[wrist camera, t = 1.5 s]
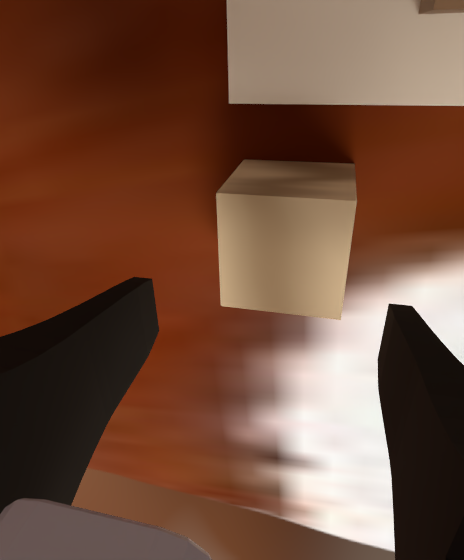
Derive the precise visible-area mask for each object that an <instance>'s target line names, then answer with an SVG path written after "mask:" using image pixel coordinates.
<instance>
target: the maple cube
mask: <svg viewBox="0 0 464 560" xmlns="http://www.w3.org/2000/svg"><path fill="white" fill-rule="evenodd" d="M216 201H217V225H218V249H219V273H220V297H221V306H226V307H235V308H243V309H252V310H260V311H269V312H277V313H286V314H295V315H303V316H312V317H320V318H329V319H337V320H341V313H342V306H343V299H344V291H345V284H346V277H347V269H348V262H349V255H350V247H351V240H352V232H353V225H354V218H355V210H356V203H357V196H356V178H355V164H350V163H324V162H298V161H272V160H247V159H244V160H243V161H242V163H241V164H240V165H239V166H238V167H237V169H236V170H235V171H234V172H233V173H232V175H231V176H230V177H229V178H228V179H227V181H226V182H225V183H224V184H223V185H222V187H221V188H220V189H219V190H218V191H217V193H216Z"/></svg>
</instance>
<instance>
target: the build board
mask: <svg viewBox="0 0 464 560" xmlns="http://www.w3.org/2000/svg"><path fill="white" fill-rule="evenodd" d="M227 39H228V82H229V104H321V105H429V106H464V0H227Z"/></svg>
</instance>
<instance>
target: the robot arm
mask: <svg viewBox="0 0 464 560" xmlns="http://www.w3.org/2000/svg"><path fill="white" fill-rule="evenodd" d="M158 332H159V326H158V319H157V312H156V304H155V297H154V290H153V283H152V279H148V278H139V277H133V278H131V279H128V280H126V281H124V282H122V283H120V284H118V285H116V286H114V287H112V288H110V289H108V290H107V291H105V292H103V293H101V294H99V295H97V296H95V297H93V298H91V299H89V300H87V301H86V302H84V303H82V304H80V305H78V306H75V307H73V308H71V309H69V310H67V311H65V312H63V313H61V314H59V315H57V316H55V317H52V318H50V319H48V320H46V321H43V322H41V323H38V324H36V325H33V326H31V327H28V328H25V329H23V330H20V331H17V332H14V333H11V334H8V335H5V336H2V337H0V560H212V559H211V557H210V555H209V554H208V553H207V552H206V551H205V550H204V549H202V548H201V547H200V546H198V545H197V544H196V543H194V542H193V541H192V540H190V539H189V538H188V537H185V536H183V535H180V534H178V533H175V532H172V531H170V530H167V529H165V528H162V527H158V526H154V525H150V524H146V523H142V522H137V521H133V520H129V519H125V518H121V517H116V516H112V515H108V514H103V513H100V512H95V511H91V510H87V509H83V508H79V507H74V506H71V504H72V502H73V499H74V497H75V494H76V492H77V490H78V487H79V485H80V482H81V480H82V477H83V475H84V473H85V470H86V468H87V466H88V464H89V462H90V459H91V457H92V455H93V453H94V450H95V448H96V446H97V444H98V442H99V440H100V438H101V436H102V434H103V432H104V430H105V427H106V425H107V423H108V422H109V420H110V418H111V416H112V414H113V413H114V411H115V409H116V408H117V406H118V404H119V403H120V401H121V400H122V398H123V396H124V395H125V393H126V392H127V390H128V388H129V387H130V385H131V383H132V382H133V380H134V379H135V377H136V375H137V374H138V372H139V371H140V369H141V367H142V366H143V364H144V362H145V361H146V359H147V357H148V355H149V353H150V351H151V349H152V346H153V344H154V342H155V339H156V337H157V334H158ZM378 389H379V396H380V403H381V409H382V416H383V422H384V428H385V434H386V440H387V446H388V453H389V459H390V467H391V476H392V494H393V512H394V537H395V560H464V365H463V364H462V363H461V362H460V361H459V360H458V359H457V358H456V357H455V356H454V355H453V354H452V353H451V352H450V351H449V350H448V348H447V347H446V346H445V345H444V344H443V343H442V342H441V341H440V339H439V338H438V337H437V336H436V335H435V333H434V332H433V331H432V330H431V329H430V327H429V326H428V325H427V324H426V323H425V321H424V320H423V319H422V318H421V316H420V315H419V314H418V313H417V311H416V310H415V309H414V308H413V307H412V306H407V305H397V304H389V306H388V311H387V316H386V321H385V326H384V331H383V336H382V341H381V346H380V351H379V356H378Z"/></svg>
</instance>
